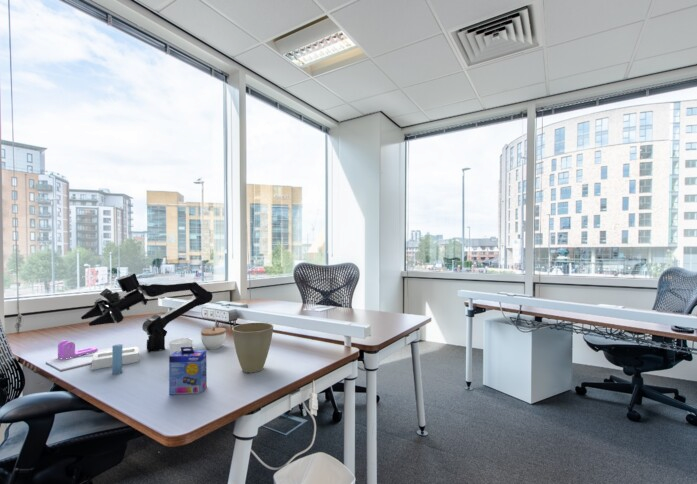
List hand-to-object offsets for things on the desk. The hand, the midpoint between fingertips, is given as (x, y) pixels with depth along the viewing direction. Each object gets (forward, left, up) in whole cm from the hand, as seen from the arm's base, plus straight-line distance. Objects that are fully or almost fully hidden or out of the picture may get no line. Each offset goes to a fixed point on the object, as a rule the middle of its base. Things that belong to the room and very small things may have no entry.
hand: (85, 321), depth 126 cm
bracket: (+3, -19, -18) cm, 26 cm away
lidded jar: (-47, +5, -17) cm, 50 cm away
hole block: (-10, +2, -17) cm, 20 cm away
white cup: (-31, +24, -17) cm, 43 cm away
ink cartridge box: (-30, +49, -17) cm, 60 cm away
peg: (-11, +17, -17) cm, 26 cm away
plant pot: (-53, +43, -17) cm, 70 cm away
